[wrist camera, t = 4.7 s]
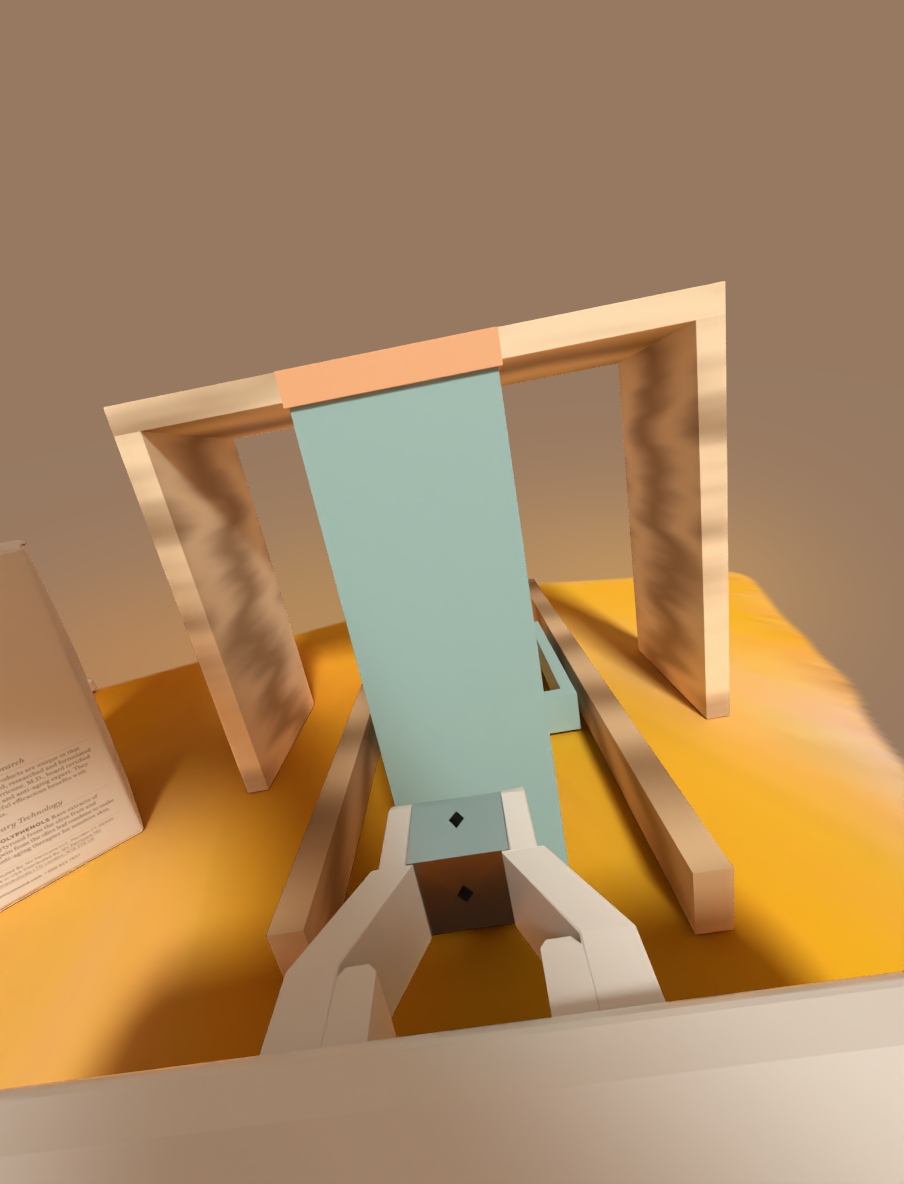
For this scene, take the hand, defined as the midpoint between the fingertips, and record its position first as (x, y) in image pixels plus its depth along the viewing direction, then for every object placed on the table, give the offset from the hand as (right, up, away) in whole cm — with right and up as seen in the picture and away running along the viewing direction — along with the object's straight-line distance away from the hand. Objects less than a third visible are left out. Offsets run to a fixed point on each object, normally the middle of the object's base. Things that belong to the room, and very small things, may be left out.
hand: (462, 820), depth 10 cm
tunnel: (+1, -2, +21) cm, 21 cm away
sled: (+1, -3, +15) cm, 16 cm away
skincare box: (-21, -8, +15) cm, 27 cm away
